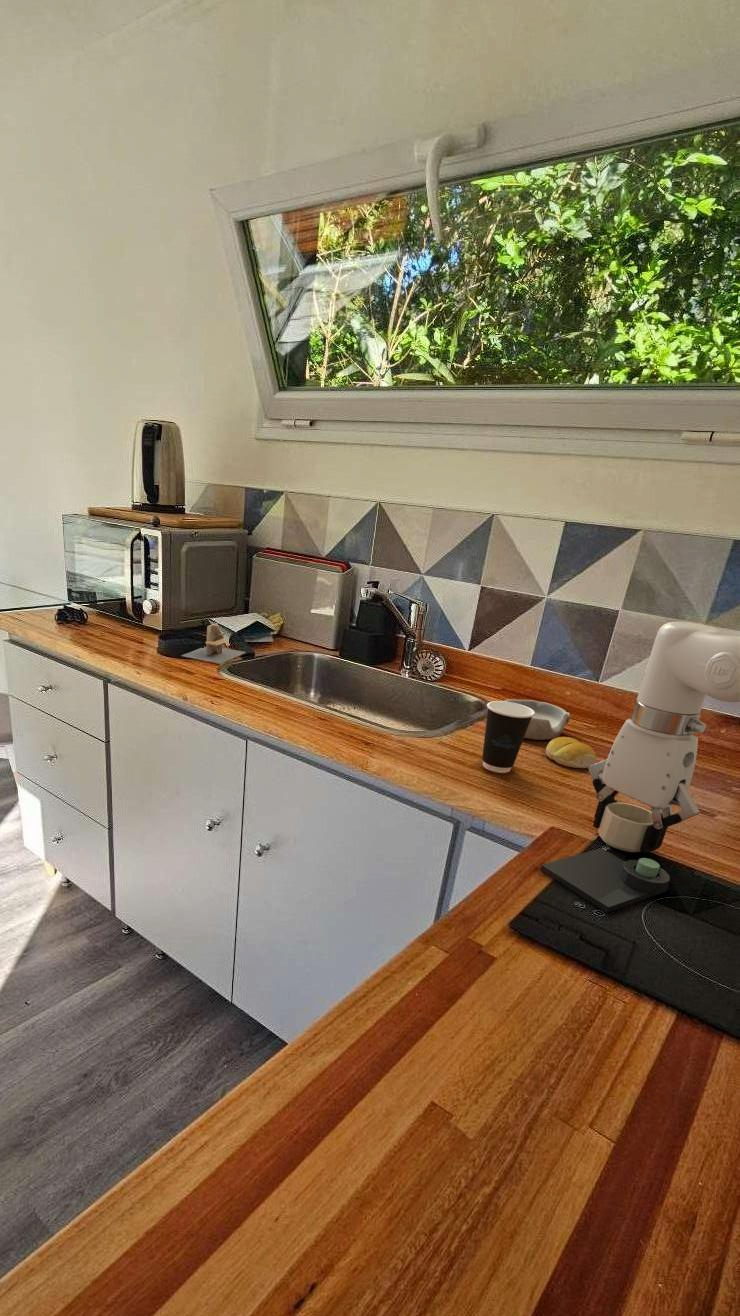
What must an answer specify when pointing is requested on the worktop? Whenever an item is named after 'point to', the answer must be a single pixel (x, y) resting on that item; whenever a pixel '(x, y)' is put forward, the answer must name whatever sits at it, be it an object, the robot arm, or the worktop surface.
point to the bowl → (624, 826)
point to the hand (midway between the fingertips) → (624, 837)
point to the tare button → (647, 867)
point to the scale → (606, 879)
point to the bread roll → (571, 752)
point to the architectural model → (214, 648)
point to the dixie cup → (504, 734)
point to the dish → (544, 720)
